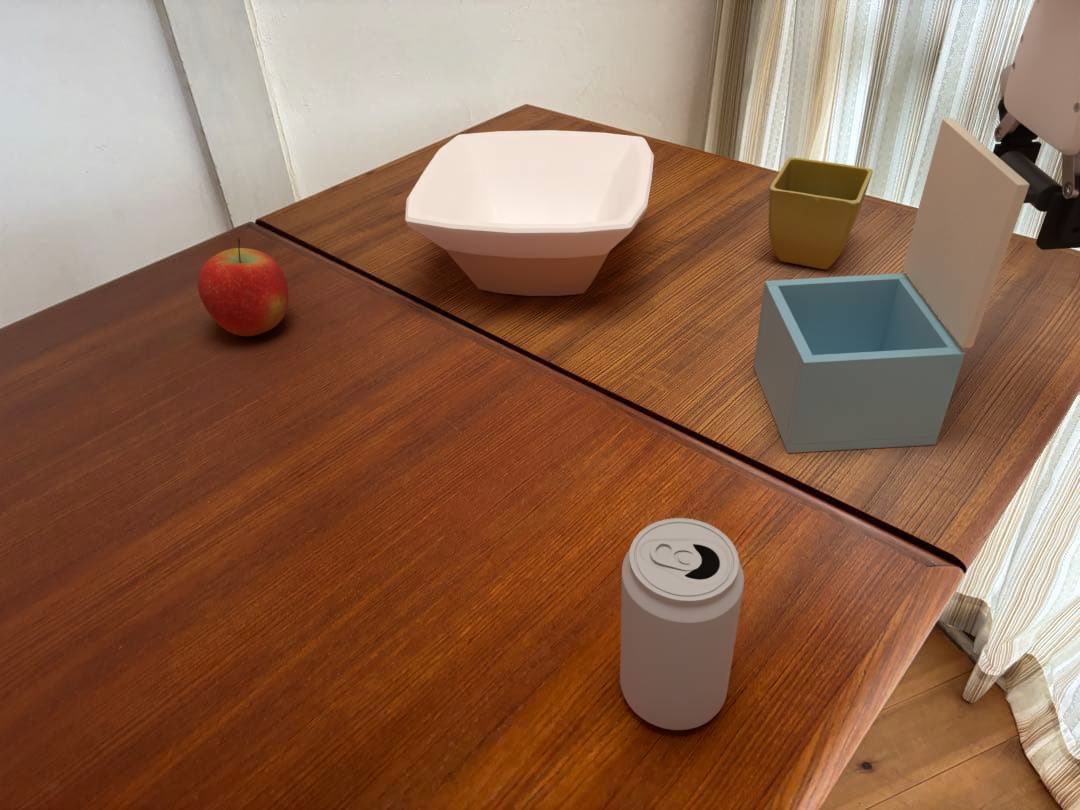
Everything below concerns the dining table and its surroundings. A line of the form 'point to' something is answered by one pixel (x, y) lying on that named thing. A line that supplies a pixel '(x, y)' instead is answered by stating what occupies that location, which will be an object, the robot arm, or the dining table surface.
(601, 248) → the bowl
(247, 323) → the apple
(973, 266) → the lid
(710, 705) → the beverage can
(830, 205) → the flower pot
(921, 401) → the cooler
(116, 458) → the dining table surface
